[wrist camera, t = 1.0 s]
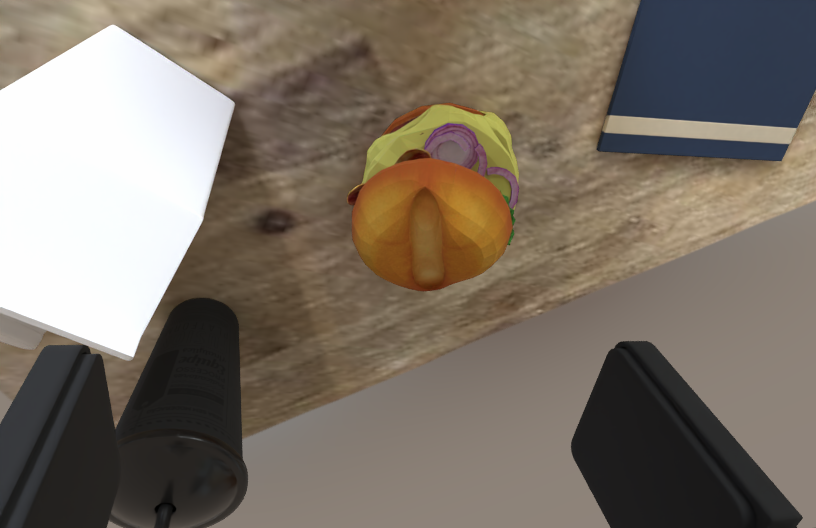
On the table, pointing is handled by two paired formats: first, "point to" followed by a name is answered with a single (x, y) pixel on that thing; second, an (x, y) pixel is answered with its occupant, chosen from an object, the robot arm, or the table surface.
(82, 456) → the robot arm
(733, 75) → the dish cloth
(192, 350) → the drinking cup
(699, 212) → the table surface
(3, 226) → the milk carton
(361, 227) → the cheeseburger
